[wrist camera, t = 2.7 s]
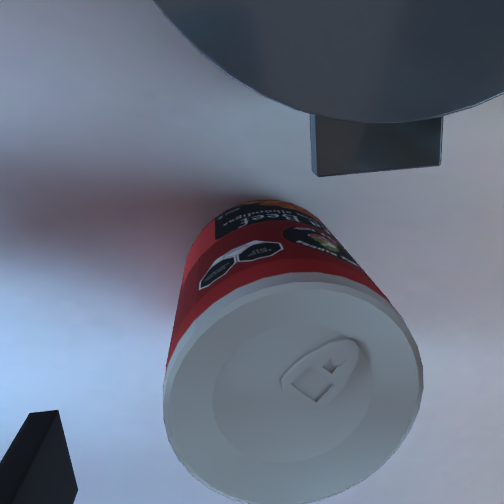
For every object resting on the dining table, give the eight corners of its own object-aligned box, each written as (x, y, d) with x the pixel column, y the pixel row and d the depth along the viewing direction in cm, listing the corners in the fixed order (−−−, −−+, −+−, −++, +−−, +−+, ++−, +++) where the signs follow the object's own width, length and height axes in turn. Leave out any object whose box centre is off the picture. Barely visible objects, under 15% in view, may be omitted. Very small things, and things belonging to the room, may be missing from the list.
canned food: (362, 232, 24) (477, 339, 13) (291, 359, 26) (342, 538, 15) (224, 168, 22) (233, 232, 12) (160, 308, 24) (119, 469, 14)
